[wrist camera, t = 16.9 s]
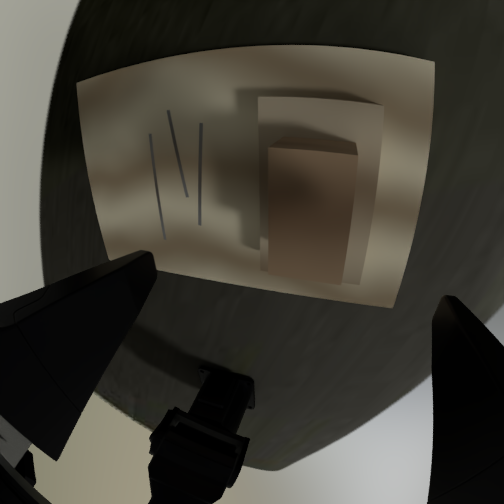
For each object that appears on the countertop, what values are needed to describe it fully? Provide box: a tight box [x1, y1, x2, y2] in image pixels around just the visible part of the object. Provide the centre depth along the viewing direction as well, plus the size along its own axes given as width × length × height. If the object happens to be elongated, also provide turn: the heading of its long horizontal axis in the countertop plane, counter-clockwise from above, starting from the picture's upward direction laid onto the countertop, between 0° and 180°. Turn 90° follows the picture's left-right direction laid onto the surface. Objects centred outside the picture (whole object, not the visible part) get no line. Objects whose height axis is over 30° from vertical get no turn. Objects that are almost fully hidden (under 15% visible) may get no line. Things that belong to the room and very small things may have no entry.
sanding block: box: [258, 96, 384, 285], centre depth 14 cm, size 10×6×5 cm, turn 1°
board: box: [77, 45, 435, 308], centre depth 18 cm, size 16×24×2 cm, turn 91°
